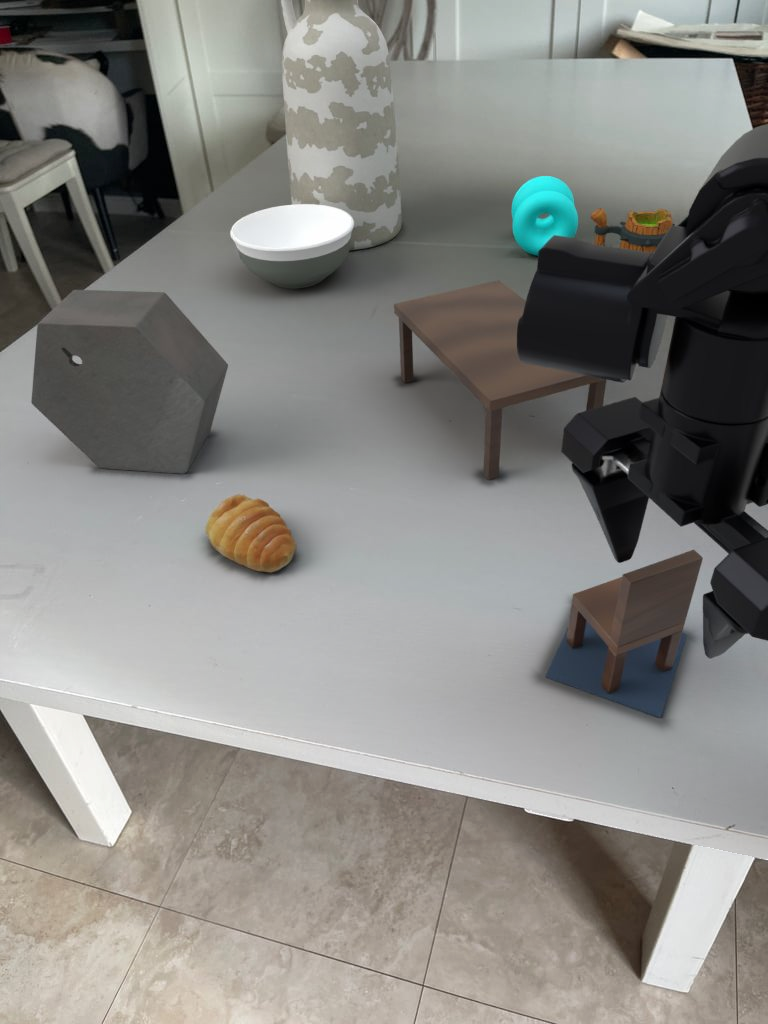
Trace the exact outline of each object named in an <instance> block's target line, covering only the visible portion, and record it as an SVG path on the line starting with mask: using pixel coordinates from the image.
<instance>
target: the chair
mask: <svg viewBox="0 0 768 1024" xmlns="http://www.w3.org/2000/svg"><path fill="white" fill-rule="evenodd" d="M703 560H704V558H703V556H702V555H701V554H700V553H699V552H698V551H696V550H695V549H692V550H689V551H686V552H683V553H680V554H677V555H675V556H672V557H669V558H665V559H663V560H660V561H657V562H654V563H652V564H648V565H646V566H643V567H640V568H637V569H634V570H632V571H629V572H626V573H623V574H622V575H621V576H620V577H617V578H615V579H612V580H609V581H607V582H603V583H601V584H598V585H595V586H592V587H589V588H586V589H583V590H581V591H578V592H574V593H572V596H571V597H572V598H571V604H570V610H569V611H570V612H569V618H568V626H567V628H568V632H567V639H566V641H567V642H568V644H569V645H570V646H571V648H572V649H573V648H576V647H579V646H581V645H583V639H584V633H585V627H586V621H587V622H588V623H589V624H590V625H591V626H592V628H593V629H594V630H595V631H596V632H597V634H598V635H599V636H600V637H601V638H602V640H603V641H604V642H605V643H606V644H607V646H608V652H607V657H606V662H605V667H604V672H603V677H602V683H601V686H602V687H603V688H604V690H605V691H606V692H607V693H608V694H610V693H612V692H615V691H617V690H619V686H620V681H621V677H622V672H623V668H624V663H625V659H626V654H627V651H630V650H633V649H635V648H638V647H640V646H643V645H646V644H648V643H651V642H653V641H656V640H659V639H661V641H660V645H659V649H658V653H657V657H656V661H655V665H656V666H657V667H658V669H659V670H660V671H661V672H665V671H668V670H670V669H672V667H673V664H674V660H675V656H676V653H677V649H678V646H679V642H680V638H681V635H682V633H683V631H684V628H685V623H686V621H687V620H686V619H687V617H688V613H689V610H690V606H691V602H692V599H693V595H694V592H695V588H696V586H697V585H696V584H697V581H698V578H699V573H700V570H701V567H702V564H703V563H702V562H703Z"/></svg>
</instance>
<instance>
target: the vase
mask: <svg viewBox="0 0 768 1024" xmlns="http://www.w3.org/2000/svg"><path fill="white" fill-rule="evenodd" d="M303 2H304V11H303V13H302V15H301V16H299V18H298V19H297V17H296V12H295V10H294V5H293V0H280V3H281V4H280V5H281V10H282V17H283V20H284V21H283V22H284V25H285V29H286V33H287V35H286V37H285V40H284V43H283V46H282V52H281V53H282V54H281V55H282V56H281V74H282V75H281V76H282V90H283V91H282V93H283V109H284V122H285V123H284V124H285V136H286V137H285V139H286V153H287V164H288V177H289V187H290V199H291V205H296V204H315V205H325V206H330V207H335V208H338V209H341V210H343V211H345V212H347V213H348V214H349V215H350V216H351V217H352V218H353V220H354V227H353V230H352V232H351V239H350V250H349V251H356V250H357V251H358V250H363V249H368V248H372V247H377V246H380V245H382V244H385V243H387V242H390V241H391V240H393V239H394V238H395V237H396V236H398V235H399V234H400V232H401V229H402V224H403V222H402V221H403V218H402V198H401V197H402V196H401V180H400V179H401V178H400V176H401V175H400V164H399V163H400V162H399V161H400V160H399V149H398V136H397V123H396V111H395V100H394V89H393V79H392V69H391V68H392V67H391V61H390V60H391V58H390V52H389V48H388V44H387V40H386V38H385V36H384V35H383V32H382V30H381V28H380V27H379V26H378V24H377V23H376V22H375V21H374V20H373V19H372V18H371V17H370V16H369V15H367V13H365V12H364V11H363V10H362V9H361V7H360V5H359V0H303Z"/></svg>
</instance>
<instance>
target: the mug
mask: <svg viewBox="0 0 768 1024" xmlns="http://www.w3.org/2000/svg"><path fill="white" fill-rule="evenodd" d="M590 219H591V220H592V221H593V222H594V223H595V224H596V225H595V226H594V233H595V238H594V243H593V244H594V245H601V246H606V236H607V234H616V235H619V240H620V244H619V248H623V249H630V250H637V251H644V252H651V253H653V252H654V251H655V249H656V248H657V246H658V245H659V243H660V242H661V240H662V239H663V237H664V236H665V234H666V233H667V231H668V230H669V228H670V227H671V226H676V224H675V223H674V220H673V218H672V214H671V213H670V211H668V210H667V209H663V208H658V209H657V211H637V212H636V211H634V210H629V213H628V214H627V217H626V221H621V222H620V225H622V226H619V225H610V226H609V225H608V215H607V213H606V211H605V210H604V209H603V208H601V207H599V208H596V209H595V210H594V211H593V212H592V213H591V214H590Z"/></svg>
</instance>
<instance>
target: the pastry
mask: <svg viewBox="0 0 768 1024" xmlns="http://www.w3.org/2000/svg"><path fill="white" fill-rule="evenodd" d="M205 533H206V535H207V537H208V540H209V542H210V544H211V546H212V547H213V548H214V549H215V550H216V551H217V552H218V553H219V554H221V556H223V557H225V558H227V559H229V561H233V562H234V563H236V564H238V565H239V566H244V567H246V568H248V569H250V570H253V571H257V572H264V573H265V572H266V573H274V572H278V571H279V570H281V569H282V568H285V567H286V566H287V565H288V564H289V563H291V562H292V560H293V558H294V555H295V551H296V548H297V543H296V541H295V539H294V538H293V536H292V531H291V529H290V528H288V527H287V523H286V522H285V520H284V519H283V517H281V514H280V513H279V512H277V511H276V510H274V508H273V507H270V505H269V503H268V502H267V501H264V500H262V499H261V498H255V499H253V498H250V497H248V496H247V495H245V494H235V495H232V496H229V497H227V498H226V499H224V500H222V501H221V502H220V503H219V504H218V506H217V507H216V508H215V509H214V510H213V511H212V512H211V513H210V516H209V517H208V521H207V523H206V525H205Z"/></svg>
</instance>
